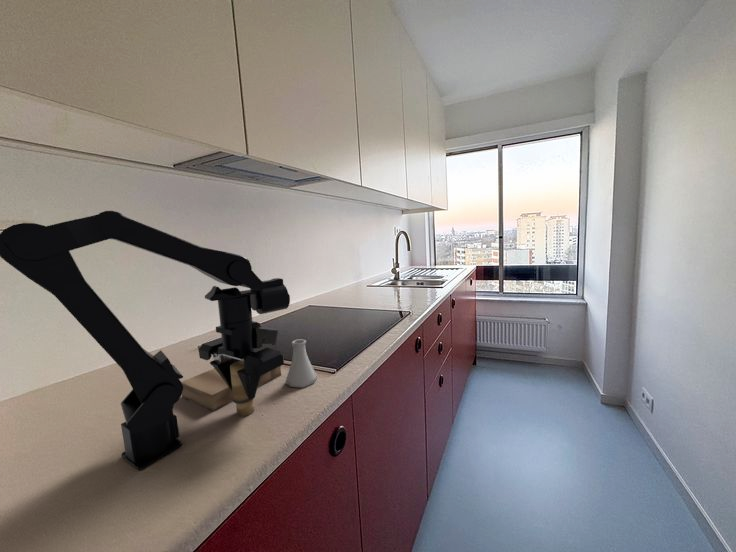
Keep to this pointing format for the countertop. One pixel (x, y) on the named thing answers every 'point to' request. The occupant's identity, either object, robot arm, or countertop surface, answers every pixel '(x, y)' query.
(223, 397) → the wooden peg board
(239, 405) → the oak peg
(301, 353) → the flask
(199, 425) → the countertop surface
